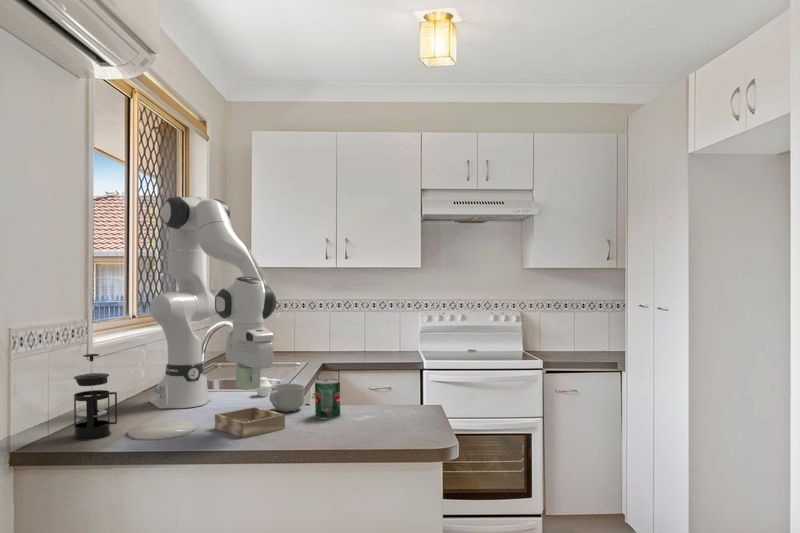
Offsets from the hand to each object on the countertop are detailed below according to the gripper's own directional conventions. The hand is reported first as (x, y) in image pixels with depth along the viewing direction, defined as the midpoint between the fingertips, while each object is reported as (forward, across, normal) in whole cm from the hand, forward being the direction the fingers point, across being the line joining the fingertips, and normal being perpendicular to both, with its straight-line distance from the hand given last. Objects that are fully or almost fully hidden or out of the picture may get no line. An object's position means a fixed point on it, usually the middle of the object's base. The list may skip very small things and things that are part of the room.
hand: (247, 380), depth 187 cm
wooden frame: (+14, +1, 0) cm, 14 cm away
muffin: (+15, -36, +29) cm, 49 cm away
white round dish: (+14, -15, -19) cm, 28 cm away
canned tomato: (+14, +6, +25) cm, 29 cm away
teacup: (+14, -10, +20) cm, 27 cm away
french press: (+15, -25, -34) cm, 45 cm away
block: (+2, 0, 0) cm, 2 cm away
